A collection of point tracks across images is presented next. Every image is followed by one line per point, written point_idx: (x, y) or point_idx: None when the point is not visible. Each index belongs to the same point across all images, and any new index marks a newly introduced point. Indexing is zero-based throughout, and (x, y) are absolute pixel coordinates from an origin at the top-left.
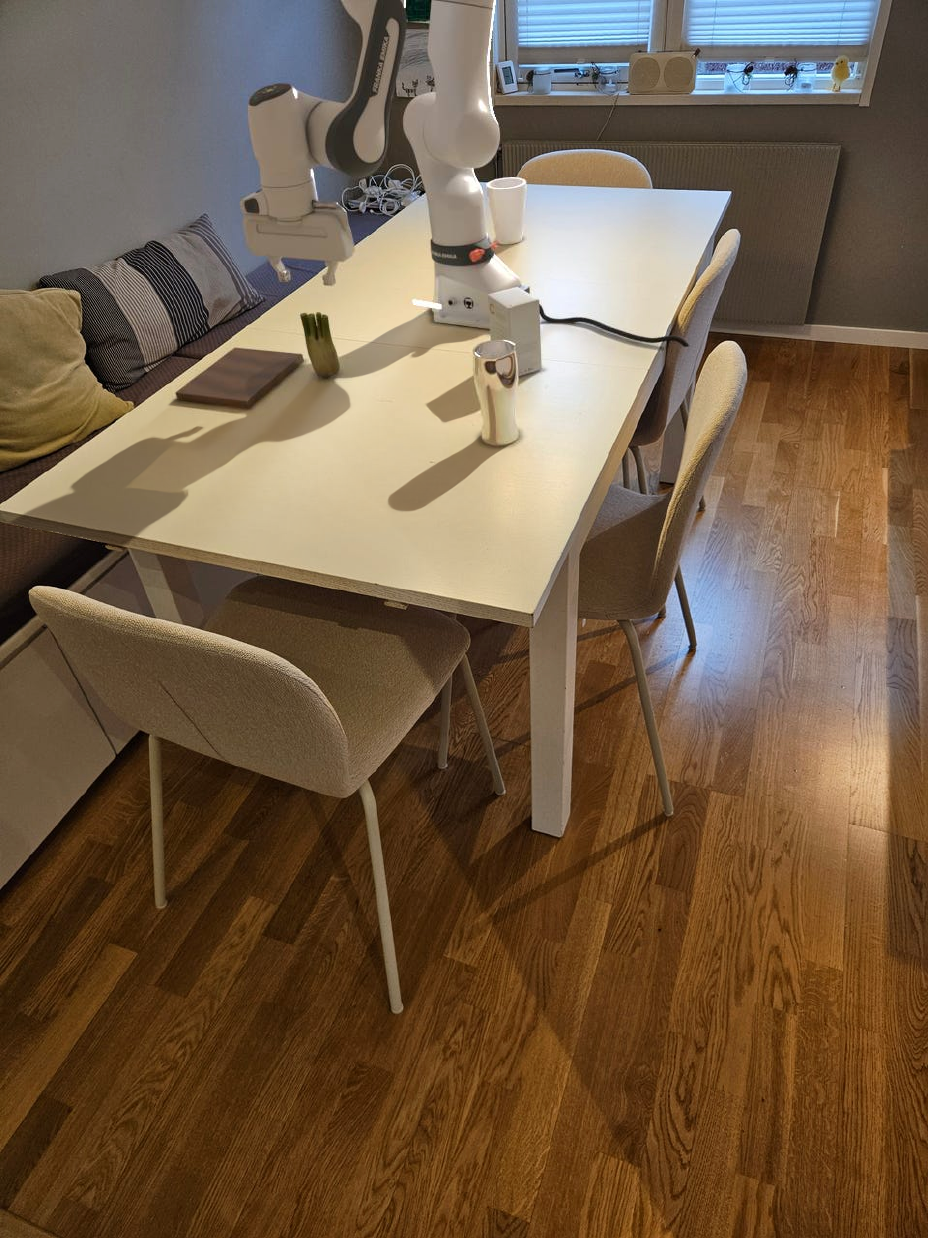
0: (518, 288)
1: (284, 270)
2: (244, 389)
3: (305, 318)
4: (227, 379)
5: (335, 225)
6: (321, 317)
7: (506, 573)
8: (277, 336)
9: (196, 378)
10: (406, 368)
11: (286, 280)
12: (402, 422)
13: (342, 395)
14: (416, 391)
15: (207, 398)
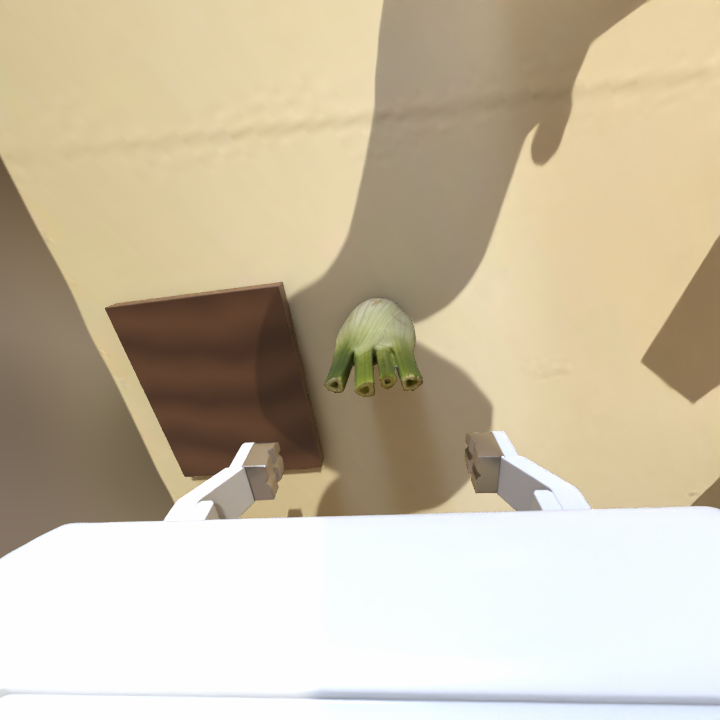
0: None
1: (258, 483)
2: (286, 440)
3: (345, 385)
4: (225, 422)
5: None
6: (407, 390)
7: None
8: (108, 180)
9: (169, 434)
10: (545, 232)
11: (282, 467)
12: (612, 423)
13: (457, 379)
14: (605, 322)
15: None
